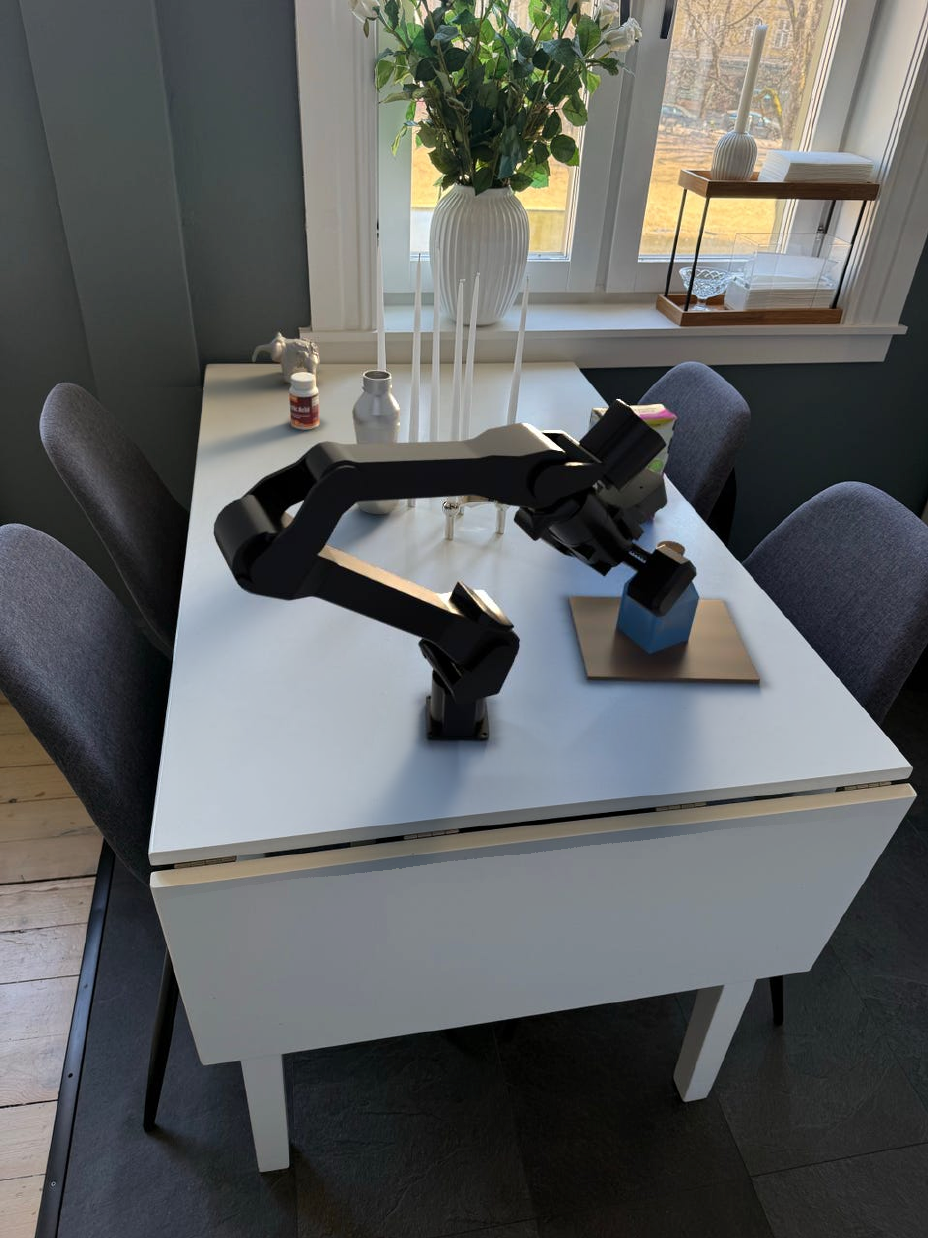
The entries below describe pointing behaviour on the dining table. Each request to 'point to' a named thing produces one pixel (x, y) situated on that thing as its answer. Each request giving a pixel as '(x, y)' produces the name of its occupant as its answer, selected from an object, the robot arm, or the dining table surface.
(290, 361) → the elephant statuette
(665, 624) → the perfume bottle
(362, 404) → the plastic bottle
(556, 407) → the dining table surface
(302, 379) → the pill bottle
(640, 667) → the walnut board
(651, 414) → the candy bar box
